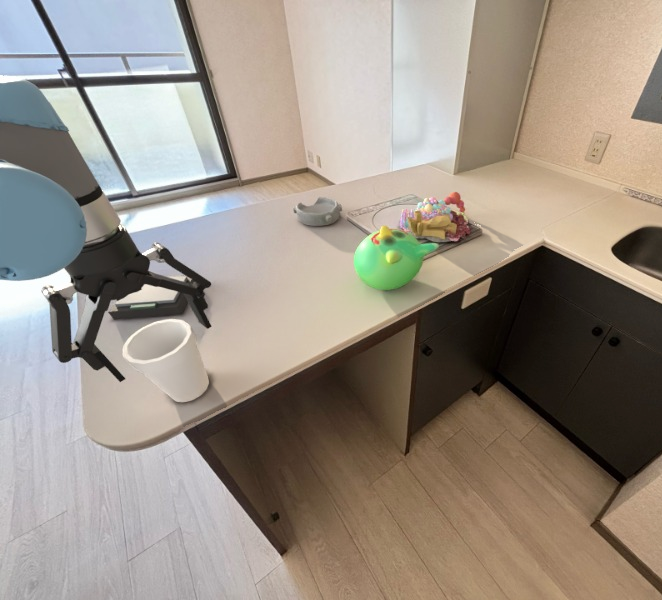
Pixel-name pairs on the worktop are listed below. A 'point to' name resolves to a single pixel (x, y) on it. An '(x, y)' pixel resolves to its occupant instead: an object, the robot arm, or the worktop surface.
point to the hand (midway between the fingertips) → (165, 348)
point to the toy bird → (390, 258)
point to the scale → (151, 302)
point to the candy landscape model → (437, 220)
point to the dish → (319, 212)
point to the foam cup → (168, 358)
